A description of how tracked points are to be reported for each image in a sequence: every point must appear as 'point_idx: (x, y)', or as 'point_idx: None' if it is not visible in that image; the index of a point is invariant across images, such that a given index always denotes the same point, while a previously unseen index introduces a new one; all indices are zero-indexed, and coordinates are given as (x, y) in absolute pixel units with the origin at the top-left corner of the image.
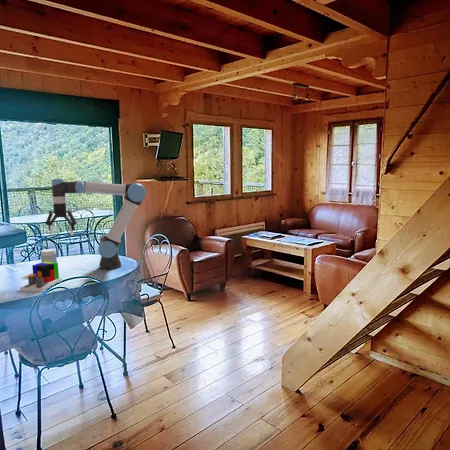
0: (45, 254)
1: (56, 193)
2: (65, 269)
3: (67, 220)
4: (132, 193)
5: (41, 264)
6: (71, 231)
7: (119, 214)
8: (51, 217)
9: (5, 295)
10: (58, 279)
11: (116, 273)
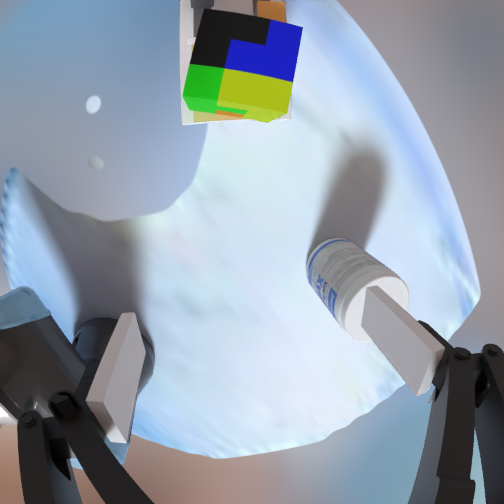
0: (372, 269)
1: None
2: (280, 298)
3: (123, 488)
4: None
5: (261, 45)
6: (110, 347)
7: None
8: (483, 462)
9: None
10: (182, 96)
11: (34, 271)
